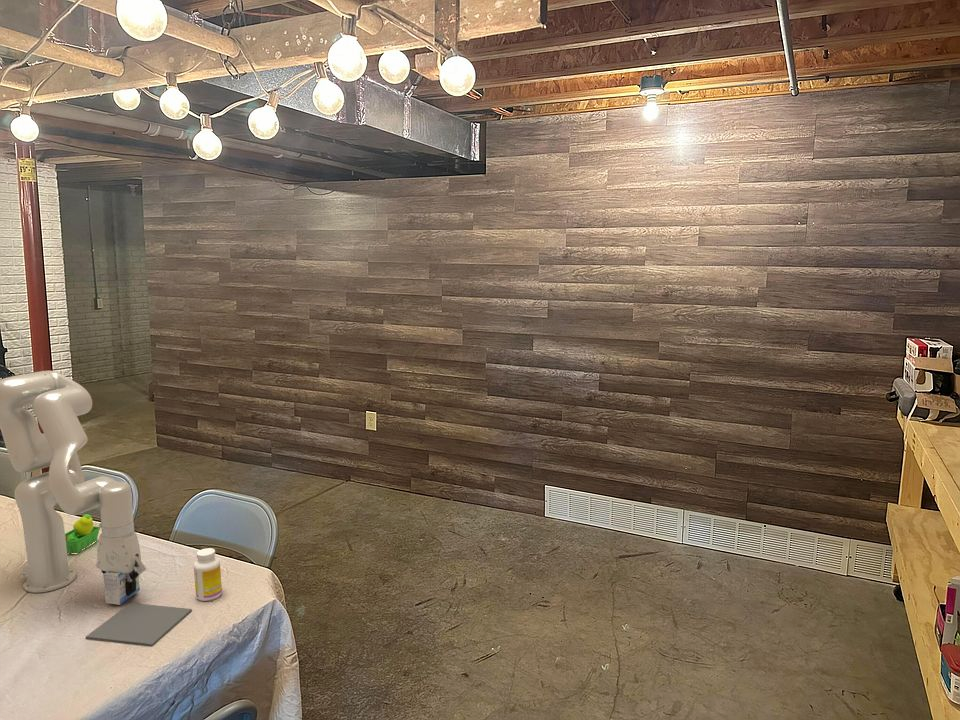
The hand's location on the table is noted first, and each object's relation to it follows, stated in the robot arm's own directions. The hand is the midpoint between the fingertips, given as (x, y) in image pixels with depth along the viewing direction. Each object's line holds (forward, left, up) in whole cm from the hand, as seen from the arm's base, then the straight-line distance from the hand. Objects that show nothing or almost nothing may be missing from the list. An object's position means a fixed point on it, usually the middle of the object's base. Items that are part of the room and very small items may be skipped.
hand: (122, 591), depth 181 cm
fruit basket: (-35, +26, -3) cm, 44 cm away
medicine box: (0, 0, -2) cm, 2 cm away
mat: (+13, -10, -2) cm, 17 cm away
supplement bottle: (+22, +6, -3) cm, 23 cm away
